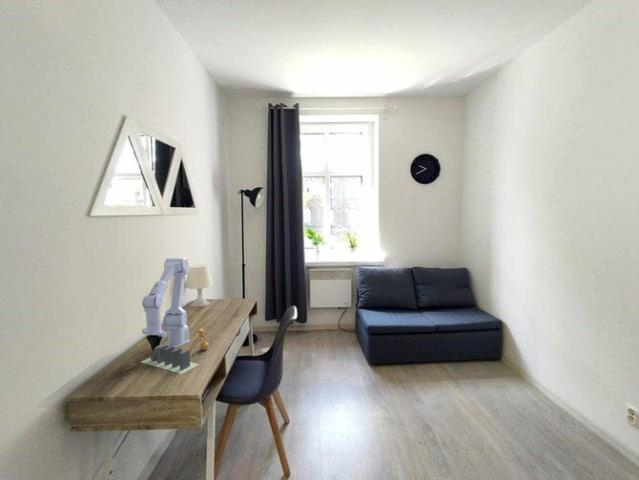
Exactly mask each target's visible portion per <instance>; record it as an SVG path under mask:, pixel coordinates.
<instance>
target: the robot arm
mask: <svg viewBox="0 0 639 480" xmlns="http://www.w3.org/2000/svg"><path fill="white" fill-rule="evenodd" d="M163 266H164V269H163V272H162V274H161V277H160V279H159V280H158V281H156V282H155V283H154V284H153V285H152V288H151V289H150V291H149V293H148V294H147V295H146V296H144V297H143V299H142V302H141V305H142V307H143V310H144V313H145V319H146V327H144V328H142V329H141V331H142V332H141V333H142V334H144V335H145V336H146V337H145V339H146V340H147V342H148V344H149V345H150V348H151V350H152V352H153V351H154V349H155V347H157V346H159V345H161V341H162V339H165V338H167V337H168V338H167V339H168V343H165V344H166V345H168V347H170V346H174V349H177V348H180V346H182V345H185V344H187V343H189V342H190V343H191V340H190V332H189V331H190V330H189V327H188V325H187V321H188V317H187V311H186V310H185V309H184V308H182V306H183V300H184V299H183V298H184V291H185V289H184V288H185V283H186V275H188V271H189V262H188V259H187V258H186V257H168V258H166V259H165V261H164V263H163ZM172 276H173V277H174V279H173V287H172V295H171V301H170V308H168V309H167V310H166V311H165V313H164V317H163V319H162V318H161V316H162V314H161V307H162V305H163V302H164V301H163V300H164V295H165V294H166V291H167V289H168V287H169V286H168V283H169V281H170V280H171V278H172ZM162 323H163V326H164V327H165V328H166V329H167V331H165V330H163V328H162Z"/></svg>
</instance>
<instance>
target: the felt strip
mask: <svg viewBox="0 0 639 480" xmlns="http://www.w3.org/2000/svg"><path fill="white" fill-rule="evenodd" d="M150 358H151V357H148V358H146V359H145V360H142V361H141V363H142V364H146V365H150V366H153V367H157V368H160V369H163V370H167V371H169V372H170V371H171V372H173V373H177V374H180V375H183V374H184V373H186V372H188V371H190V370H191V369H193V368H195V367H197V366H199V364H198V363H196V362H191V361H190V366H189V367H187V368H185V369H184V370H182V369H180V365H179V366H177V367H175V368H174V367H172V363H171V364H169V365H164V362H162V363H158V362H157V360H154V361H152V360H151V359H150Z"/></svg>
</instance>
